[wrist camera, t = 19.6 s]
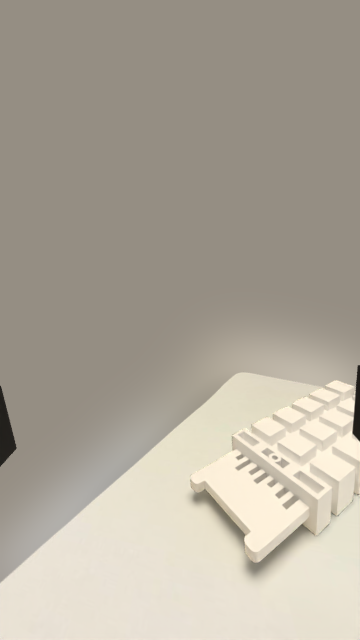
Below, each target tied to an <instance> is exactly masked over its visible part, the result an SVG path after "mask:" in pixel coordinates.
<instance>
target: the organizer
mask: <svg viewBox="0 0 360 640" xmlns="http://www.w3.org/2000/svg"><path fill="white" fill-rule="evenodd" d="M354 391H355V387H354V386H351V385H348V384H345V383H342V382H340V381H337V380H335V381H333V382H331V383H329V384H327V385H326V386H325V389H323V388H320V389H318V390H316V391H314V392H312V393H310V394H309V398H307V397H303V398H301V399H299V400H297V401H295V402H293V403H292V408H290V407H288V406H286V407H284V408H282V409H280V410H278V411H276V412H274V413H273V419H271V418H269V417H265V418H263V419H261V420H259V421H257V422H255V423H254V424H252V425H251V432H250V431H249V430H247V429H246V428H244V429H242V430H240V431H239V432H237V433H235V434H233V435H232V452H230V453H228V454H226V455H225V456H223V457H221V458H219V459H218V460H216V461H214V462H212V463H211V464H209V465H207V466H205V467H204V468H202V469H200V470H198V471H197V472H195V473H193V474H191V476H190V482H191V488H192V489H193V490H194V491H195V492H201V491H203V490H204V489H206V490H207V492H208V493H209V494H210V495H211V496H212V497H213V498H214V499H215V501H216V502H217V503H218V504H219V505H220V506H221V507H222V509H223V510H224V511H225V512H226V513H227V514H228V515H229V517H230V518H231V519H232V520H233V521H234V522H235V523H236V525H237V526H238V527H239V528H240V529H241V530H242V531H243V532H244V534H245V535H246V536H245V538H244V545H245V553H246V555H247V556H248V557H249V559H250V560H251V561H252V562H254V563H258V562H260V561H261V560H262V559H263V558H264V557H266V556H267V555H268V554H269V553H270V552H271V551H272V550H273V549H274V548H276V547H277V546H278V545H279V544H280V543H281V542H282V541H283V540H284V539H286V538H287V537H288V536H289V535H290V534H291V533H292V532H293V531H295V530H296V529H297V528H298V527H299V526H300V525H301V524H303V525H304V526H305V527H306V528H307V529H309V530H310V531H311V532H312V533H313V534H314V535H315V536H317V535H318V534H319V533H320V532H321V531H322V530H323V529H324V528H325V527H326V526H327V525H328V524H329V523H330V518H331V512H332V513H333V514H334V515H336V516H338V515H339V514H340V513H341V512H342V511H343V510H344V509H345V508H346V507H347V506H348V505H349V504H350V503H351V502H352V501H353V494H354V492H355V493H356V494H358V495H359V494H360V441H359V440H358V439H357V438H356V437H355V436H354V435H353V434H352V430H353V418H354V406H355V394H354Z"/></svg>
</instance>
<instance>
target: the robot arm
mask: <svg viewBox="0 0 360 640" xmlns="http://www.w3.org/2000/svg"><path fill="white" fill-rule="evenodd" d="M352 434H353V435H354V436H355V437H356V438H357V439H358V440H359V441H360V365H358V371H357V382H356V394H355V406H354V418H353V430H352ZM15 450H16V444H15V440H14V436H13V432H12V428H11V425H10V420H9V417H8V412H7V408H6V404H5V401H4V397H3V393H2V389H1V386H0V466H1V465H2V464H3V463H4V462H5V461H6V459H7V458H8V457H9V456H10V455H11V454H12V453H13V452H14V451H15Z"/></svg>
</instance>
